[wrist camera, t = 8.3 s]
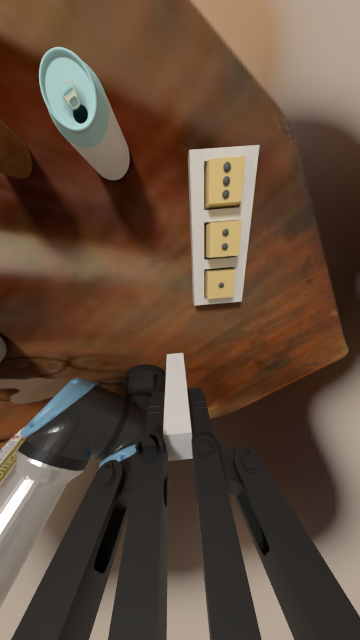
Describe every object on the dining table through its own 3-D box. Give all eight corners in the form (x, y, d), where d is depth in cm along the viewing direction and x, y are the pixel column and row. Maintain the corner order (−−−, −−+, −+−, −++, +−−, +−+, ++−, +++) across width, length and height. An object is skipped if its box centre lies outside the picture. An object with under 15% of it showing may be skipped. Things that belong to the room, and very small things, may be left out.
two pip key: (233, 254, 33) (240, 255, 30) (205, 257, 33) (209, 257, 29) (235, 223, 30) (243, 219, 27) (205, 225, 30) (210, 222, 27)
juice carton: (15, 431, 59) (-49, 506, 42) (26, 423, 57) (-37, 497, 40) (34, 439, 62) (-20, 511, 45) (45, 431, 60) (-6, 503, 43)
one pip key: (228, 292, 38) (234, 297, 34) (204, 294, 38) (208, 299, 34) (230, 268, 35) (236, 270, 32) (204, 270, 35) (208, 272, 32)
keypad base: (237, 298, 39) (241, 301, 37) (193, 302, 39) (194, 305, 37) (252, 153, 27) (259, 144, 25) (187, 158, 27) (189, 149, 25)
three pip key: (235, 206, 30) (242, 201, 27) (204, 209, 30) (209, 203, 26) (237, 167, 27) (247, 155, 24) (204, 169, 27) (209, 158, 24)
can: (135, 145, 26) (110, 69, 15) (123, 190, 29) (94, 153, 18) (95, 117, 24) (34, 10, 14) (86, 167, 27) (28, 111, 16)
